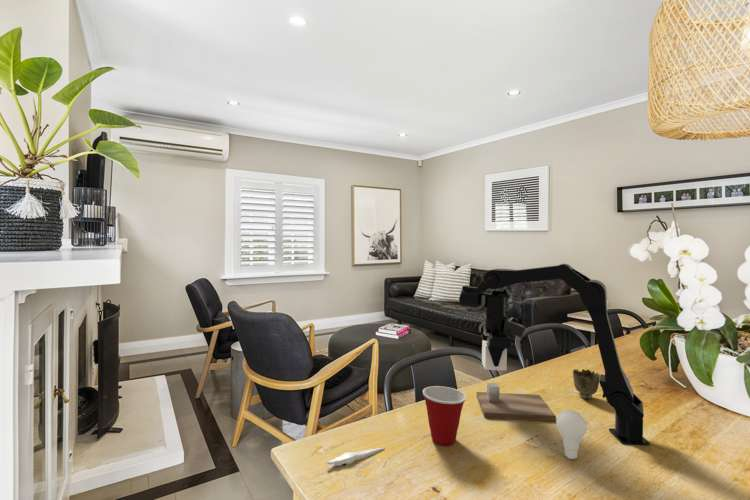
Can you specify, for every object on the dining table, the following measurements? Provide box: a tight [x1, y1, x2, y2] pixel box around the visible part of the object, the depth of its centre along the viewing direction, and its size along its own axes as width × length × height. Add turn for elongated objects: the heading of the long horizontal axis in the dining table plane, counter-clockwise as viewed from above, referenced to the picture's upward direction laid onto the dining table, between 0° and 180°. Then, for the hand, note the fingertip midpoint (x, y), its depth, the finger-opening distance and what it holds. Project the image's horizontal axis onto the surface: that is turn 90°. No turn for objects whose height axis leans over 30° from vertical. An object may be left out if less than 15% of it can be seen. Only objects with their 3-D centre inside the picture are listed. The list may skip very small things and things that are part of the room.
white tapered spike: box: [326, 447, 385, 469], centre depth 85 cm, size 15×3×2 cm, turn 121°
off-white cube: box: [481, 339, 508, 372], centre depth 112 cm, size 6×6×7 cm
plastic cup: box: [422, 385, 468, 447], centre depth 93 cm, size 11×11×12 cm
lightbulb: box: [555, 409, 588, 460], centre depth 85 cm, size 6×6×11 cm
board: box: [476, 391, 557, 422], centre depth 111 cm, size 14×19×2 cm
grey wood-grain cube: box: [486, 382, 500, 402], centre depth 113 cm, size 3×3×4 cm
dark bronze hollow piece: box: [572, 368, 601, 400], centre depth 118 cm, size 8×7×8 cm
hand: (493, 362), depth 112 cm, fingers closed on off-white cube, 6 cm apart
